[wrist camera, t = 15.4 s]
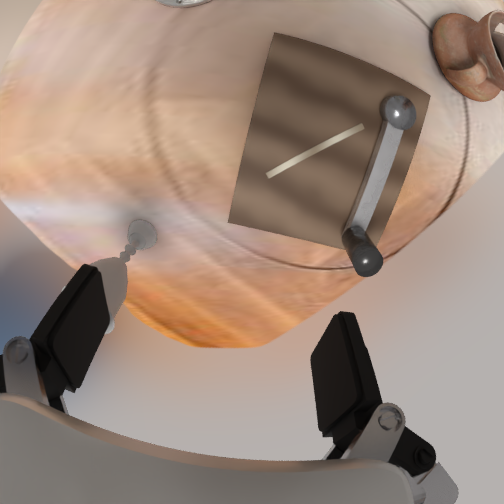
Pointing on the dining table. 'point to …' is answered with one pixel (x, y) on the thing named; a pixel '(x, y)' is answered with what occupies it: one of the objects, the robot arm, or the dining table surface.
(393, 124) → the lever
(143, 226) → the chalice
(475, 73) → the ceramic jug
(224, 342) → the dining table surface
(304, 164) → the lever board
